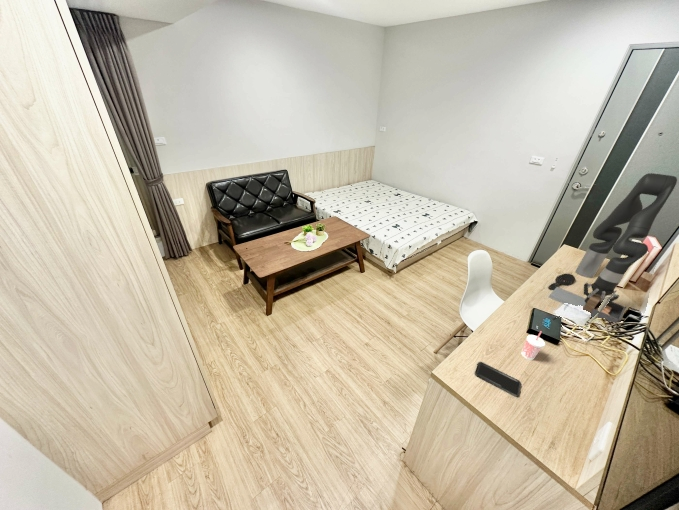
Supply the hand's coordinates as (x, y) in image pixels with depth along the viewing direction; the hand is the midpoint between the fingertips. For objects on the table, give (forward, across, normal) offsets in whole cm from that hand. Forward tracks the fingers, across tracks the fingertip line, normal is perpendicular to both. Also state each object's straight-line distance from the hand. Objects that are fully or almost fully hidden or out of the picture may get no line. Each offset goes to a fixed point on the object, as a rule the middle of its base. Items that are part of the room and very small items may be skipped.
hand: (591, 304), depth 135 cm
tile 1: (+2, -4, -4) cm, 6 cm away
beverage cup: (+3, +7, +60) cm, 60 cm away
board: (+3, +7, 0) cm, 8 cm away
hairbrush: (+4, +17, -15) cm, 23 cm away
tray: (+3, -7, 0) cm, 7 cm away
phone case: (+4, +1, +25) cm, 25 cm away
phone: (+4, +10, +82) cm, 83 cm away
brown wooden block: (+1, 0, 0) cm, 1 cm away
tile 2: (+2, -4, +4) cm, 6 cm away
